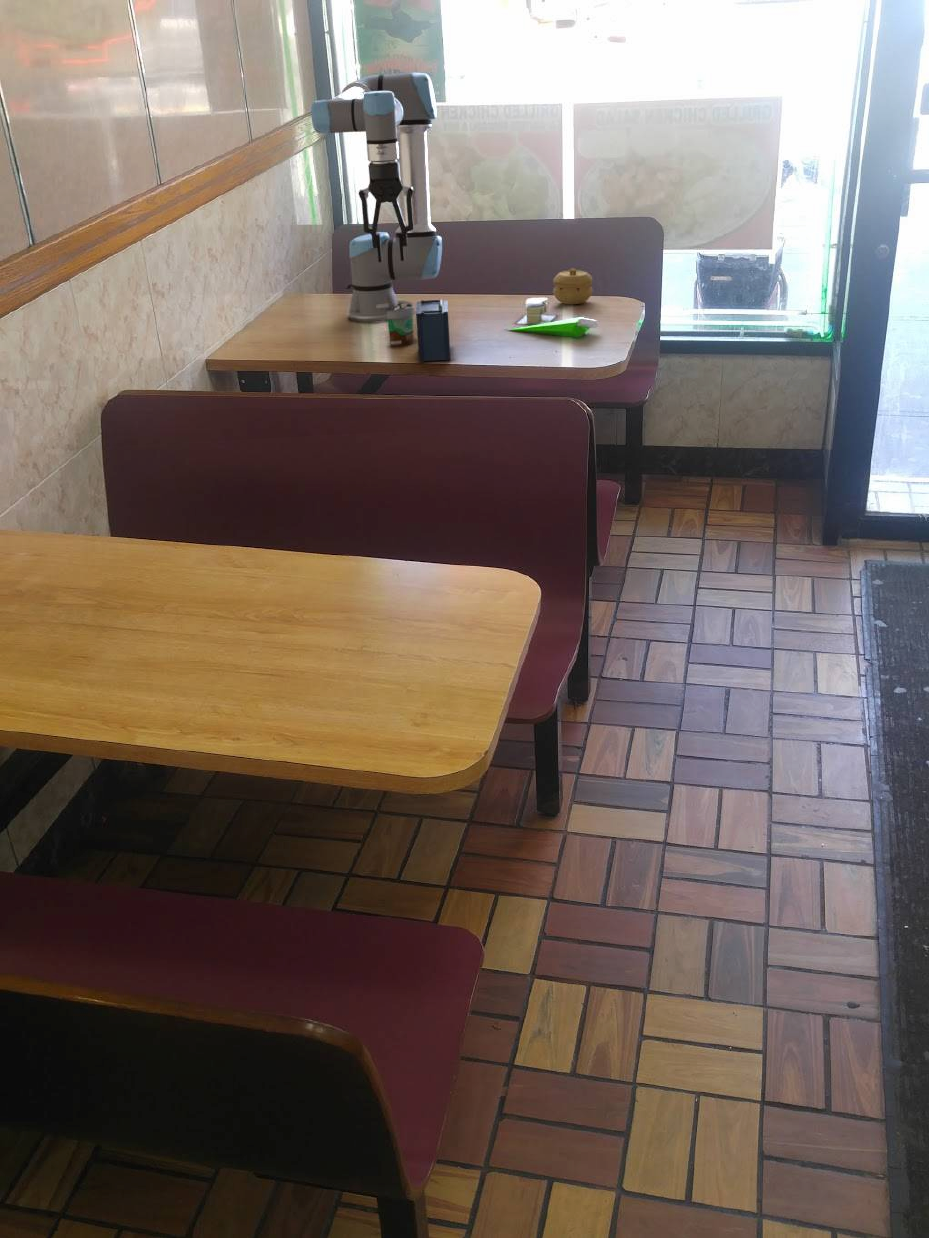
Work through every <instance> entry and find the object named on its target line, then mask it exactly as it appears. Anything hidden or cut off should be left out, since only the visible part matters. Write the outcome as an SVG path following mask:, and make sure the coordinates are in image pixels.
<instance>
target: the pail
mask: <svg viewBox="0 0 929 1238" xmlns="http://www.w3.org/2000/svg"><path fill="white" fill-rule="evenodd" d="M448 302H449V301H448V299H447V300H442V299H441V298H439V299H428V300H427V299H426V300H424V299H422V300H421V301H416V308H415V311H416V312H415V318H416V319H415V320H416V334H417V346H418V347H417V349H418V361H419V364H422V363H424V362H429V361H430V362H432V361H433V362H434V361H435V362H436V361H446V362H451V340H450V337H451V336H450V321H449V305H448Z"/></svg>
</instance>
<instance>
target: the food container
mask: <svg viewBox="0 0 929 1238" xmlns="http://www.w3.org/2000/svg"><path fill="white" fill-rule="evenodd" d="M397 301H398V305H397V306H396V307H393V308H392V310H391V311H387V319H388V321H387V325H388V333H389V334H388V335H389V344H390V348H401V347H406V346H409V345H411V344H413V343H414V315H416V308H415V305H414V303H413V302H412V301H407V300H397Z"/></svg>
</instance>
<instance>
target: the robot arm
mask: <svg viewBox="0 0 929 1238" xmlns="http://www.w3.org/2000/svg"><path fill="white" fill-rule="evenodd" d="M433 86H434V85H433V82H432V80H431V77H430V76H429V75H428V74H427V73H424V72H414V71H413V72H412V71H411V72H402V73H387V74H372V75H368V76H365V77H362V78H358V79H357V80H354V81H353V82H350V83H349V84H347V85H346V86H344V88H343V89H342V91H341V92H340V94H339V95H337V96H335V97H333V98H331V99H321V100H320V99H319V100H314V101H313V102H312V104H311V108H310V116H311V117H310V118H311V124H312V127H313V130H314V131H315V132H316V133H317V134H326V135H330V134H339V133H362V132H363V133H365V137H366V138H365V139H366V152H367V161H368V162H369V163H368V176H369V177H368V178H369V183H368V185H367V187H366V188H364V189H363V188H362V189H359V191H358V197H359V198H360V201H361V209H362V222H363V232H364V233H366V234H364V235H360V236H356V237H355V238H353V239H351V240H350V242H349V245H348V247H349V256H348V257H349V263H350V273H351V283H350V284H348V285H347V287H346V288H347V289H350V288H352V295H351V300H350V306H349V311H348V315H349V319H350V320H351V321H354V322H358V323H380V322H388V319H387V311H391V310H392V308H393V307H396V306H397V305H398V301H399V300H398V298H397V296H396V293H395V291H394V287H393V281H401V280H405V281H406V280H408V281H409V280H422V281H423V280H430V279H435V278H437V276H438V275H439V273H440V270H441V263H442V255H443V237H442V236H439V235H437V229H436V227H435V226H434V225H433V224H432V223H431V205H430V201H431V200H430V184H429V183H430V179H429V160H428V141H427V140H428V139H427V134H428V133H427V132H428V131H429V130H430V129H431V127H432V120H435V119H436V118H437V116H438V113H437V103H436V97H435V91H434V87H433ZM369 193H370V194H371V195H372V196H373V198H374V199H375V207H374V214H373V220H372V225H371V226H370V220H369V205H368V198H369ZM384 203H391V204H392V206H393V209H394V213H395V216H396V219H397V221H398V225H399V227H398V228H397V229H396V230H395V237H390V235H389V233H388V232H386V231H383V232H382V231H379V232H378V227H379V226H378V225H379V219H380V215H381V214H380V213H381V207H382V204H384Z"/></svg>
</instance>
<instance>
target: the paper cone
mask: <svg viewBox="0 0 929 1238" xmlns="http://www.w3.org/2000/svg"><path fill="white" fill-rule="evenodd" d="M598 323H599V322H598V320H596V319H591V318H587V317H586V316H580V317H574V318H568V319H563V320H556V321H552V322H551V321H550V322H549V323H545V324H532V325H529V326H523V327H516V328H510V329H509V331H514V332H522V333H523V332H524V333H533V334H542V335H551V336H560V337H570V338H579V339H580V338H581V337H582V336H583V335H584V334H586V333H587V332H588V331H589V330H590V329H596V328H597V327H599V324H598Z"/></svg>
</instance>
